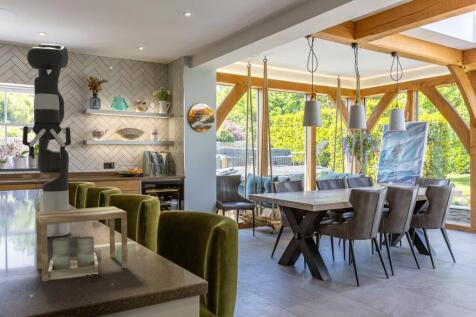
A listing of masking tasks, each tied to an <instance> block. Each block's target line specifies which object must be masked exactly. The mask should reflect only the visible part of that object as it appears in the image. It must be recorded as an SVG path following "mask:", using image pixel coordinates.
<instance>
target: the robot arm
mask: <svg viewBox="0 0 476 317" xmlns="http://www.w3.org/2000/svg"><path fill="white" fill-rule="evenodd" d="M68 52H69V51H68V49H67V47H66V46H65V45H62V44H61V45H60V44H53V43H39V44H38V46H33V47H31V48H30V49H29V50H28V52H27V56H26V58H27V62H28V64H29V66H30V67H31V68H32V69H34V70H38V73H37V74H38V76H37V77H35V78H34V82H33V84H34V86H33V87H34V98H33V106H32V107H33V126H27V125H25V126H23V129H22V145H24V146H27V147H28V156H29V158H31V160H32V159H35V147H34V146H35V144H37V142H38V150H37V151H38V152H37V168H38V172H39V173H41V174H58V177H56V178H55V179H54V180H51V181H48V182H45V183H43V185H42V194H43V212H46V211H59V210H70V206H69V205H70V204H69V202H70V201H69V199H70V198H69V196H70V195H69V191H70V190H69V188H70V187H69V167H70V165H69V164H70V162H69V160H70V157H69V152H68V150H66V147H67V146H70V145H72V139H71V128H70V127H69V126H67V127H61V126H60V125H61V124H62V122H63V120H64V118H65V100H64V98H63V95H62V94H61V93H60V91H59V80H60V79H59V78H60V74H61V70H62V69H64V68H67V66H68V63H69V53H68ZM48 71H50V72H49V73H48ZM31 131H33V133H34V134H35V136H34V137H33V138H32V140H31V141H28V136H29V134H30V133H31ZM61 132H62V133H63V134H64V135H65V142H64V141H63V139H62V138H61V137H60V136H59V134H60V133H61ZM53 140H55V141H56V143H57V144H58V145H59V149H48V147H49V144H50V141H53ZM69 234H70V223H61V224H50V225H47V238H48V237H63V236H68V235H69Z"/></svg>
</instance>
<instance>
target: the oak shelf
mask: <svg viewBox="0 0 476 317" xmlns="http://www.w3.org/2000/svg"><path fill="white" fill-rule="evenodd" d="M127 213H128V212H127V211H125V210H123V209H121V208H118V207H116V206H100V207H99V206H97V207H87V208H75V209H72V208H71V209H69V210H59V211H46V212H37V211H36V212H35V228H36V233H35V234H36V235H35V237H36V239H35V240H36V269H37V270H41V281H42V282H43V283H45V282H49V280H48V268H49V264H48V263H49V260H48V257H49V254H48V253H49V252H48V248H49V247H48V237H47V225H50V224H61V223H69V224H71V223H79V222H81V223H83V222H91V221H103V220H109V221H108V222H109V224H108V225H109V258H110V259H111V258H112V259H116V241H115V240H116V234H115V233H116V231H115V228H116V227H115V223H116V222H115V219H120V221H121V222H120V224H121V227H120V230H121V233H120V235H121V269H123V268H126V269H128V268H129V267H128V214H127Z"/></svg>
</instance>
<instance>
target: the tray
mask: <svg viewBox="0 0 476 317" xmlns="http://www.w3.org/2000/svg"><path fill="white" fill-rule="evenodd" d="M94 239H95V238H94V236H91V235H88V236H81V234H71V235H69V234H68V235H67V237H65V238H63V237H62V238H56V239H53V240H52V257H51V258H50V262H49V264H48V281H53V280H62V279H70V278H80V277H87V276H86V275H89V276H92V275H91V274H97V275H99V274H98V273H99V261H98V257H97V253H96V252H95V249H94V248H95V246H94V242H95V241H94Z"/></svg>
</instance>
